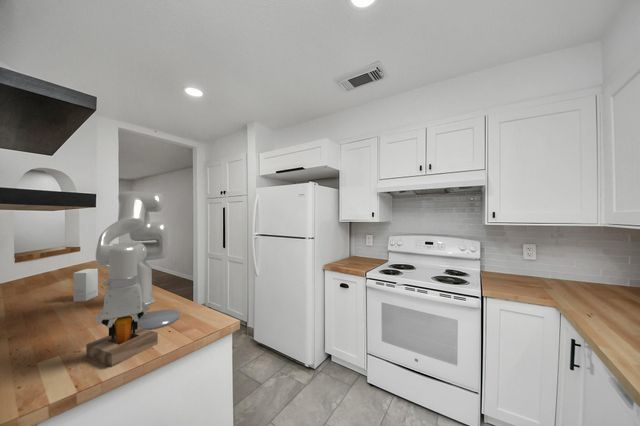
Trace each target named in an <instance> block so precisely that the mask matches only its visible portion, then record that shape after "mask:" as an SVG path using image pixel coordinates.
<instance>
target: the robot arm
mask: <svg viewBox="0 0 640 426" xmlns="http://www.w3.org/2000/svg"><path fill="white" fill-rule="evenodd" d="M117 199H118V203H119V204H120V205H119V212H118V216H117V221H115V222H113V223H112V224H111V225H108V227H106V228H105V230H104V231H102V233H101V234H100V236H99V238H98V239H97V240H98V241H97V245H96V249H95V261H96V262H97V263H98V264H99V265H100V266H101V265H102V266H108V279H107V280H104V281H102V286H108V287H107V288H106V289H105V291H104V299H103V307H102V308H103V309H102V310H100V312H99V313H97V315H96V316H95V318H94V321H95V322H97V323H101V325H104V326H106V327H107V328H108V335H109V336H111V339H113V338H114V336H115V331H114V322H115V320H116V319H117V318H121V317H125V316H132V318H133V321H132V334H134V333H135V330H137V329H138V320H139V319H140V318H141V317H142V316H143V315H144V314H146V313H148V312H149V310H150V306H149V305H152V304H153V303H155V302H156V297H153V295H152V290H153V289H152V288H153V287H152V286H153V277H152V272H153V271H152V266H151V265H150V264H149V263H148V262H147V261H155V260H163V259H165V258H167V256H168V252H169V250H168V248H169V247H168V227H167V225H166V223H164V222H161V221H150V220H151V219H150V218H151V216H150V213H158V212H161V211H162V209H163V208H164V204H165V198H164V194H162V193H161V192H157V191H137V190H135V191H133V190H132V191H131V190H130V191H129V190H127V191H126V190H125V191H121V192H120V193H119V194H118V197H117ZM127 234H129V238H130V239H131V241H134V242H128V243H127V242H123V243H112V241H114V240H115V239H117V238H119V237H121V236H124V235H127Z"/></svg>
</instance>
